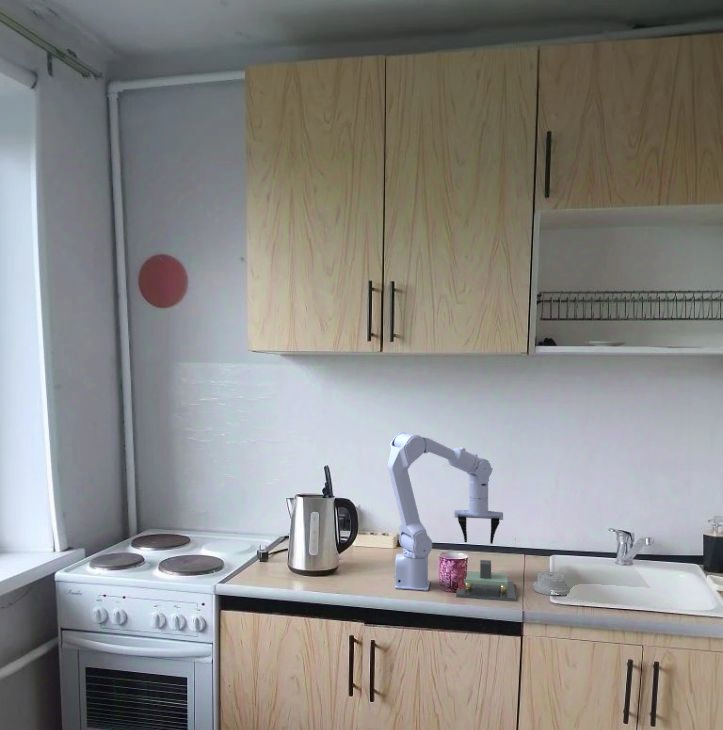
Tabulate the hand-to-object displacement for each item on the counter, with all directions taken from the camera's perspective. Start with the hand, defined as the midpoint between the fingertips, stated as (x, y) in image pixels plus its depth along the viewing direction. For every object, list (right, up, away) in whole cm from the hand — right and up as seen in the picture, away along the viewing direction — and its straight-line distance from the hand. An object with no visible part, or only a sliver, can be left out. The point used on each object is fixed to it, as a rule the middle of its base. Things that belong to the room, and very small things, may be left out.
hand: (478, 542), depth 187 cm
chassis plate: (0, -10, -12) cm, 16 cm away
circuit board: (0, -7, -12) cm, 14 cm away
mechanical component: (+19, -11, -12) cm, 24 cm away
